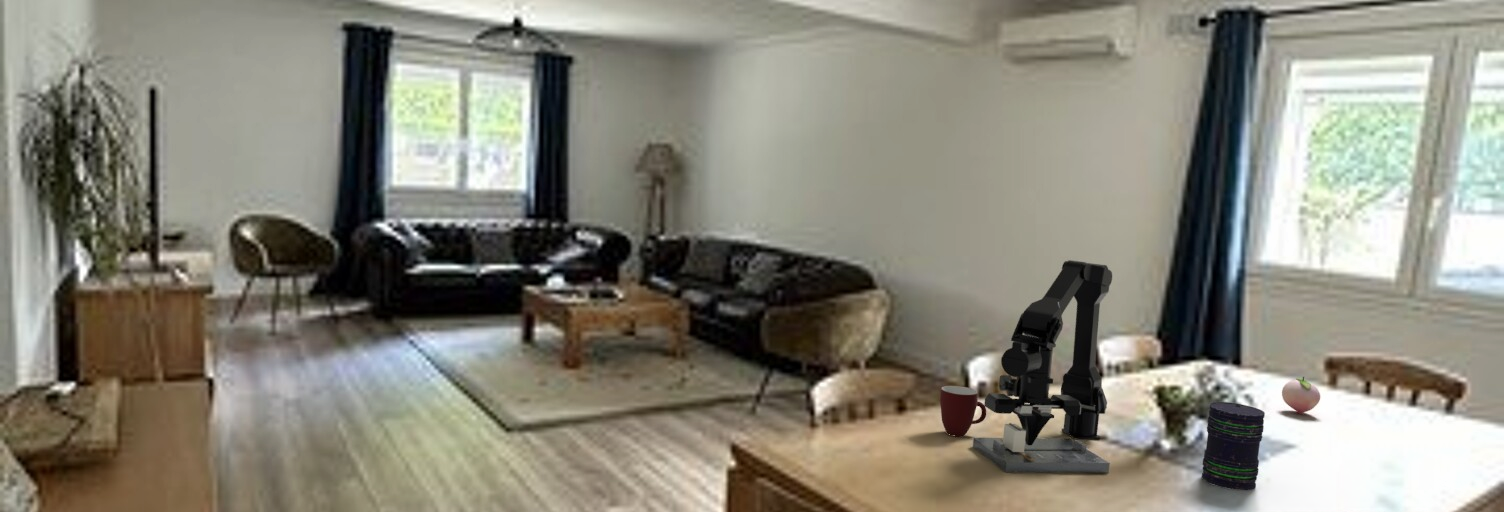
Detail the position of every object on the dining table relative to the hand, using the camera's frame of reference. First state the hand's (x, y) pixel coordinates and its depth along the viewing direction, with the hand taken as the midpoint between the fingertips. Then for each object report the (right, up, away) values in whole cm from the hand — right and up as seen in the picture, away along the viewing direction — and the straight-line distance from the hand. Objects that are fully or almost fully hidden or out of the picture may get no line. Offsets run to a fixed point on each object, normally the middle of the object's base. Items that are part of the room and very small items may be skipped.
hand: (1028, 444), depth 188 cm
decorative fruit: (+88, -3, +55) cm, 104 cm away
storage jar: (+38, -6, -6) cm, 39 cm away
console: (+2, -3, +1) cm, 4 cm away
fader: (-3, -1, 0) cm, 3 cm away
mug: (-10, -1, +16) cm, 19 cm away
